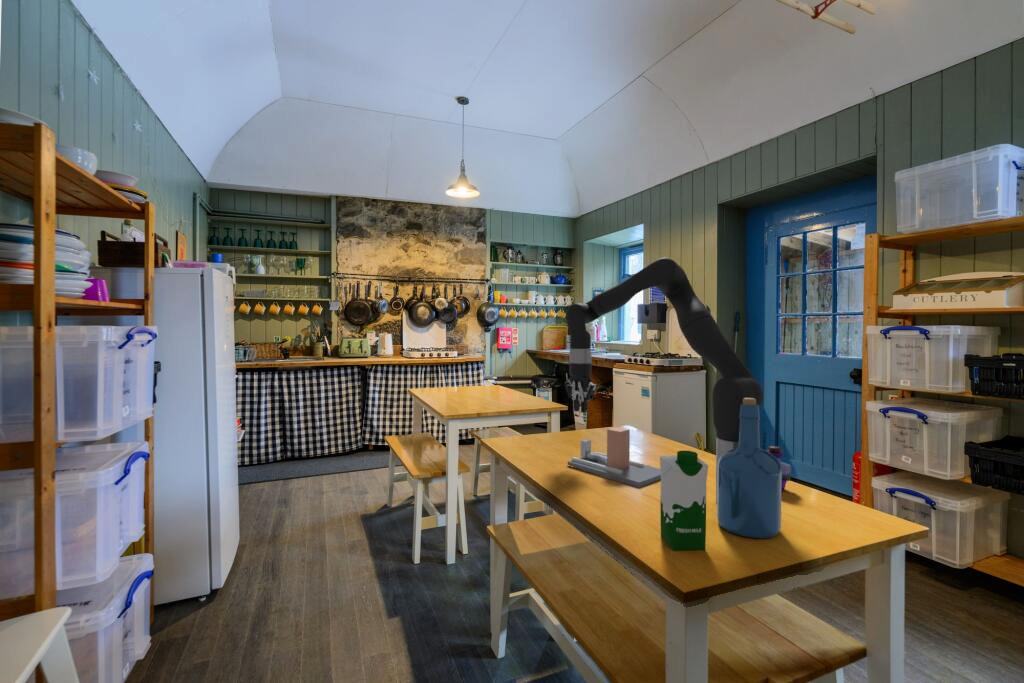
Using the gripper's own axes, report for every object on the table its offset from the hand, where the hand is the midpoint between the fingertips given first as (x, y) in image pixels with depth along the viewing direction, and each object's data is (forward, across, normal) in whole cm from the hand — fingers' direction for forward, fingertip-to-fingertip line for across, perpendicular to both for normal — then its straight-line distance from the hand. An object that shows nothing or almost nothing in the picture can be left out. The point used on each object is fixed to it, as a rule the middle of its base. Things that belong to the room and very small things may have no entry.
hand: (580, 411), depth 165 cm
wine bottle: (+17, -62, +13) cm, 66 cm away
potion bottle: (+17, -55, -20) cm, 61 cm away
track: (+17, -16, 0) cm, 23 cm away
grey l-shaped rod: (+15, -7, 0) cm, 17 cm away
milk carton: (+17, -56, +31) cm, 66 cm away
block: (+16, -16, 0) cm, 22 cm away
